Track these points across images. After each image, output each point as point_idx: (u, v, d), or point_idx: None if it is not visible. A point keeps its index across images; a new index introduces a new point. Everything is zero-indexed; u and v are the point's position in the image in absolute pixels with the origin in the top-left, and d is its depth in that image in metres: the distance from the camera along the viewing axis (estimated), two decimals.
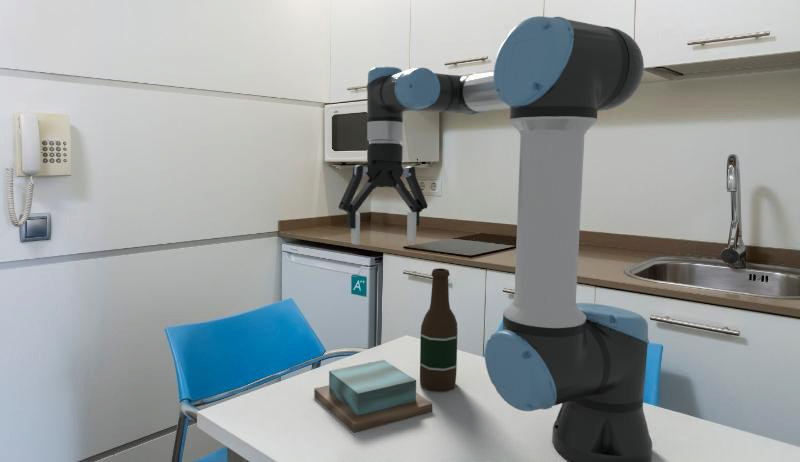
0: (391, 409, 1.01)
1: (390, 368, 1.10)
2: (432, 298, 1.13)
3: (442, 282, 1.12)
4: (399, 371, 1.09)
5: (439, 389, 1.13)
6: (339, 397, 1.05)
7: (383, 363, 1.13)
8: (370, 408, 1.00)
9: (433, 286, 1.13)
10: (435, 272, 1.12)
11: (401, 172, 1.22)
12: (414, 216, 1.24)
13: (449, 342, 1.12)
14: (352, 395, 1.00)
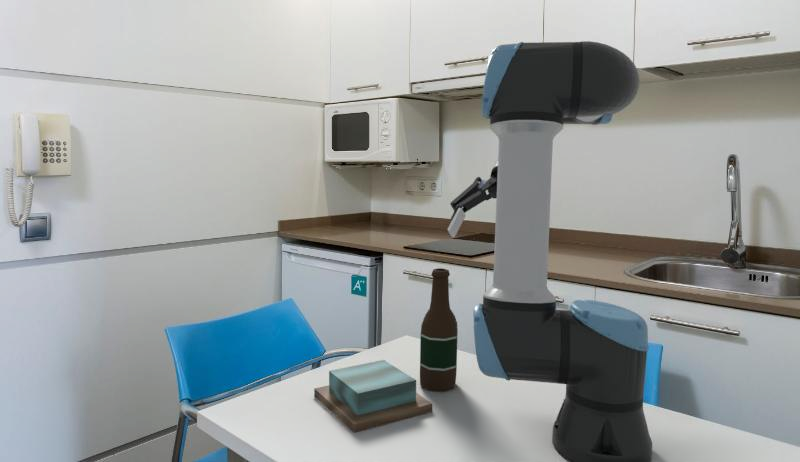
0: (391, 409, 1.01)
1: (390, 368, 1.10)
2: (432, 298, 1.13)
3: (442, 282, 1.12)
4: (399, 371, 1.09)
5: (439, 389, 1.13)
6: (339, 397, 1.05)
7: (383, 363, 1.13)
8: (370, 408, 1.00)
9: (433, 286, 1.13)
10: (435, 272, 1.12)
11: None
12: None
13: (449, 342, 1.12)
14: (352, 395, 1.00)
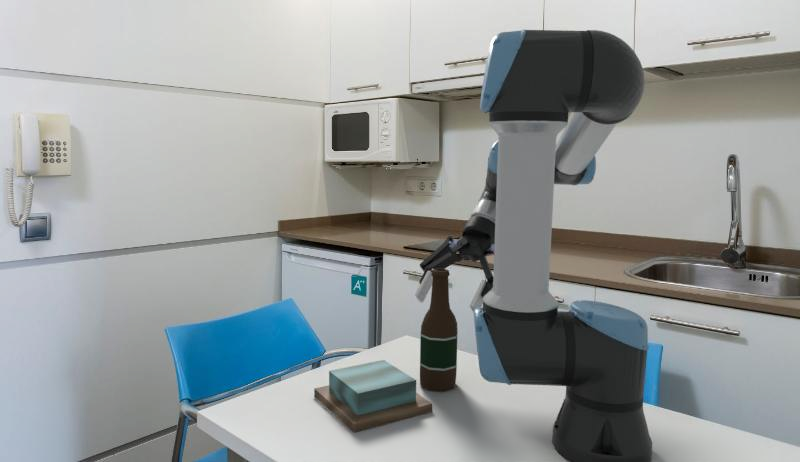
0: (391, 409, 1.01)
1: (390, 368, 1.10)
2: (432, 298, 1.13)
3: (442, 282, 1.12)
4: (399, 371, 1.09)
5: (439, 389, 1.13)
6: (339, 397, 1.05)
7: (383, 363, 1.13)
8: (370, 408, 1.00)
9: (433, 286, 1.13)
10: (435, 272, 1.12)
11: (486, 245, 1.21)
12: (481, 283, 1.14)
13: (449, 342, 1.12)
14: (352, 395, 1.00)
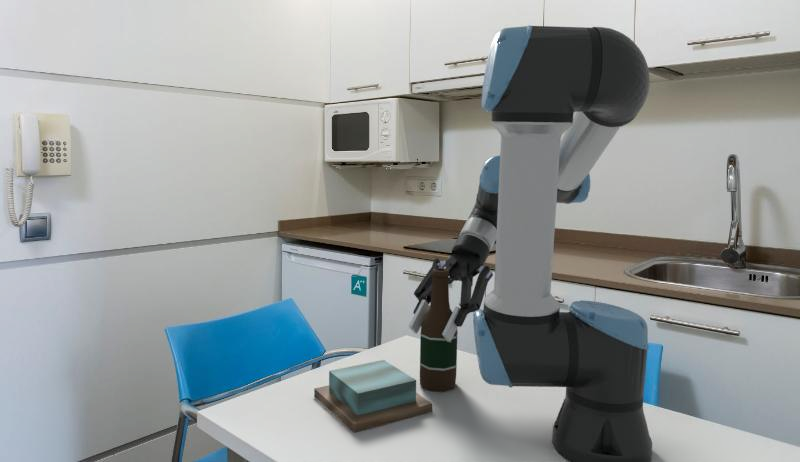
0: (391, 409, 1.01)
1: (390, 368, 1.10)
2: (432, 298, 1.13)
3: (442, 282, 1.12)
4: (399, 371, 1.09)
5: (439, 389, 1.13)
6: (339, 397, 1.05)
7: (383, 363, 1.13)
8: (370, 408, 1.00)
9: (433, 286, 1.13)
10: (435, 272, 1.12)
11: (474, 266, 1.17)
12: (454, 310, 1.11)
13: (449, 342, 1.12)
14: (352, 395, 1.00)
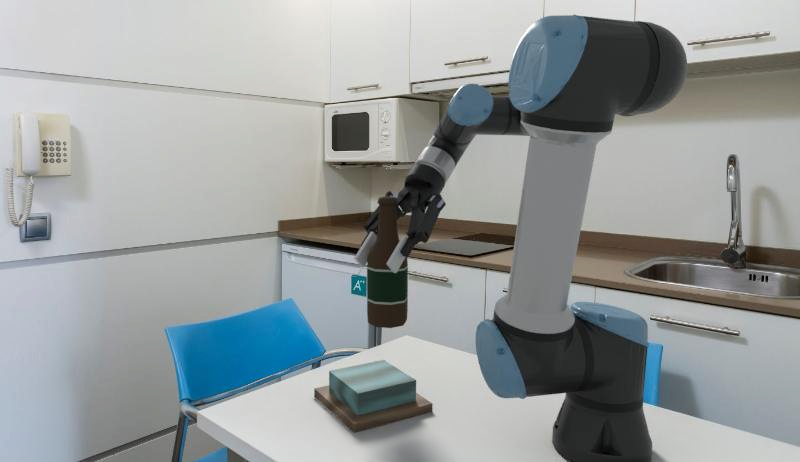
0: (391, 409, 1.01)
1: (390, 368, 1.10)
2: (379, 227, 1.05)
3: (388, 210, 1.04)
4: (399, 371, 1.09)
5: (386, 325, 1.05)
6: (339, 397, 1.05)
7: (383, 363, 1.13)
8: (370, 408, 1.00)
9: (379, 214, 1.05)
10: (381, 199, 1.04)
11: (426, 195, 1.09)
12: (401, 239, 1.03)
13: (396, 274, 1.04)
14: (352, 395, 1.00)
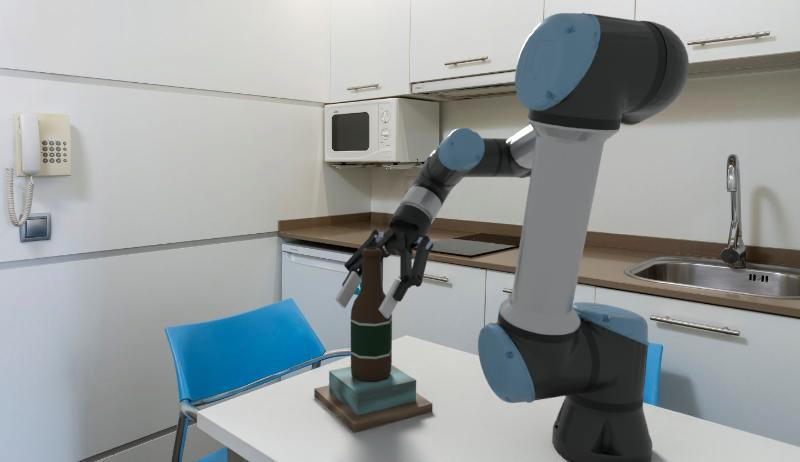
0: (391, 409, 1.01)
1: None
2: (363, 280, 1.03)
3: (372, 262, 1.02)
4: (399, 371, 1.09)
5: (370, 379, 1.03)
6: (339, 397, 1.05)
7: None
8: (370, 408, 1.00)
9: (363, 267, 1.03)
10: (365, 251, 1.02)
11: (412, 237, 1.07)
12: (394, 283, 1.01)
13: (381, 328, 1.02)
14: (352, 395, 1.00)
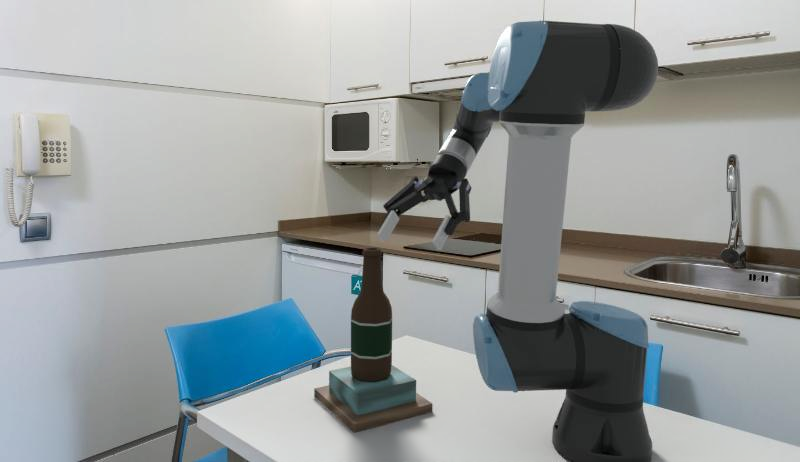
0: (391, 409, 1.01)
1: None
2: (363, 280, 1.03)
3: (373, 262, 1.02)
4: (399, 371, 1.09)
5: (370, 379, 1.03)
6: (339, 397, 1.05)
7: None
8: (370, 408, 1.00)
9: (364, 267, 1.03)
10: (365, 251, 1.02)
11: (451, 183, 1.15)
12: (445, 219, 1.09)
13: (381, 328, 1.02)
14: (352, 395, 1.00)
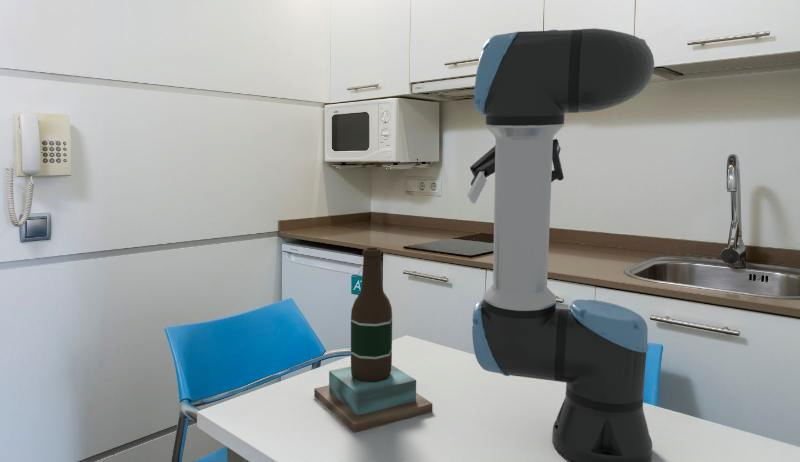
0: (391, 409, 1.01)
1: None
2: (363, 280, 1.03)
3: (373, 262, 1.02)
4: (399, 371, 1.09)
5: (370, 379, 1.03)
6: (339, 397, 1.05)
7: None
8: (370, 408, 1.00)
9: (364, 267, 1.03)
10: (365, 251, 1.02)
11: None
12: None
13: (381, 328, 1.02)
14: (352, 395, 1.00)
